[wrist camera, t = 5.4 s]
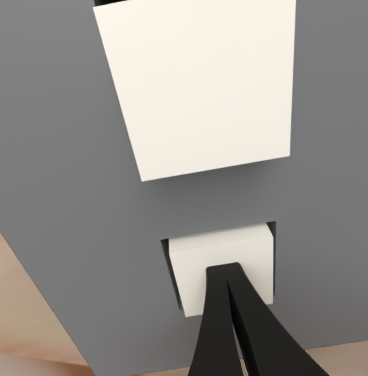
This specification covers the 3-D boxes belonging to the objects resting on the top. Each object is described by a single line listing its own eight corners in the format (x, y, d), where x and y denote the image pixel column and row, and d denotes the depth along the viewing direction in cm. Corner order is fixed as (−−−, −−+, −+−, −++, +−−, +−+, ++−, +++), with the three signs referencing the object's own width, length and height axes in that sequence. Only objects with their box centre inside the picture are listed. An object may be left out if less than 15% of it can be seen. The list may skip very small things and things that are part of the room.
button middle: (259, -18, 7) (297, -33, 5) (261, 125, 10) (289, 155, 7) (113, 10, 8) (93, 7, 5) (146, 145, 10) (142, 181, 8)
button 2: (255, 200, 13) (273, 237, 11) (257, 262, 15) (272, 303, 13) (168, 215, 13) (169, 254, 11) (182, 274, 15) (185, 317, 13)
